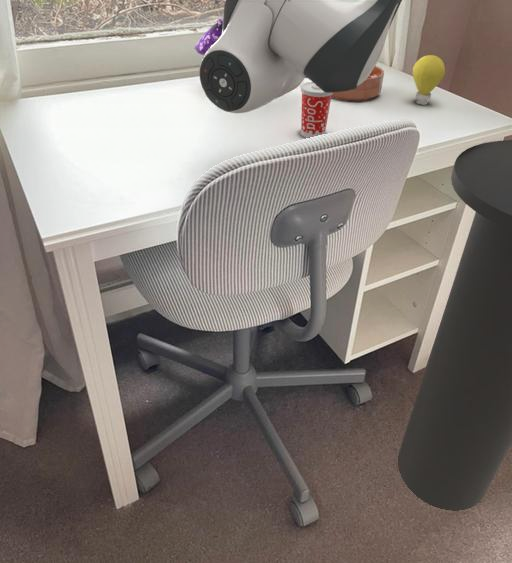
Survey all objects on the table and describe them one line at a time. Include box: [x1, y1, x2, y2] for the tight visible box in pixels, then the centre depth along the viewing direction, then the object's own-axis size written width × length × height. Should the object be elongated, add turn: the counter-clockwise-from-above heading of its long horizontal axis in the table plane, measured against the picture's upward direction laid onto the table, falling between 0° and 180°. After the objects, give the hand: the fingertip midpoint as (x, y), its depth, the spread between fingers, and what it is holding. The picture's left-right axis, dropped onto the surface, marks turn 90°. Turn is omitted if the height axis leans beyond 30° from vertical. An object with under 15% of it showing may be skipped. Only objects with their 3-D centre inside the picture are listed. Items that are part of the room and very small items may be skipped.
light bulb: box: [412, 54, 446, 106], centre depth 116 cm, size 7×7×10 cm
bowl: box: [331, 64, 385, 102], centre depth 122 cm, size 14×14×5 cm
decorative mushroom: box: [194, 17, 223, 56], centre depth 118 cm, size 12×12×15 cm
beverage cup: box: [300, 81, 333, 139], centre depth 99 cm, size 6×6×14 cm
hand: (308, 48), depth 85 cm, fingers open, 8 cm apart
